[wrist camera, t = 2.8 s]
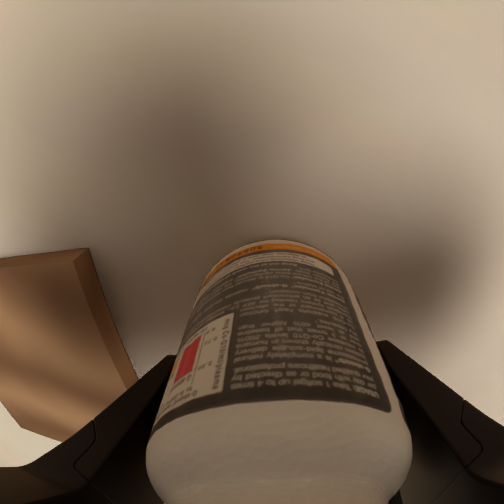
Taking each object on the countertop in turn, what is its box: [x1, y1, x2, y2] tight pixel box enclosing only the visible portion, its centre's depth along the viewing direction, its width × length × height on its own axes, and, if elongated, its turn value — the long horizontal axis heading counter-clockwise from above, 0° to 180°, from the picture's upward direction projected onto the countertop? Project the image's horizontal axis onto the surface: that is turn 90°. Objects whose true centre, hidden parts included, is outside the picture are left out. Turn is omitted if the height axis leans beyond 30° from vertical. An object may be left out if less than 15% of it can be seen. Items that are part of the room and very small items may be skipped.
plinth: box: [0, 248, 138, 442], centre depth 14 cm, size 14×14×1 cm
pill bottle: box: [146, 240, 412, 504], centre depth 7 cm, size 6×6×10 cm
